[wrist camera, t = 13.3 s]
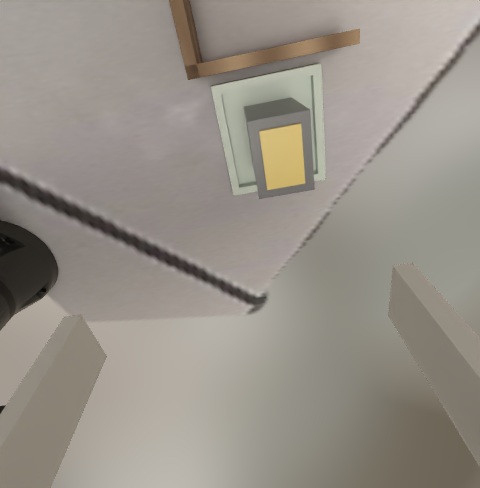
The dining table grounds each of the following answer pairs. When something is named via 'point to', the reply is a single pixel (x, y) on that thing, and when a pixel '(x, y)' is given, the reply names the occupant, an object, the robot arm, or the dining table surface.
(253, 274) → the dining table surface
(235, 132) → the tray
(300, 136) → the grey box yellow panel
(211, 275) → the dining table surface
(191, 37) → the bay
